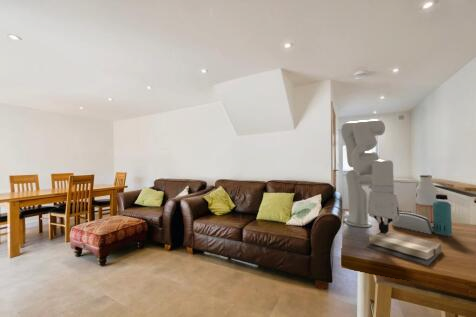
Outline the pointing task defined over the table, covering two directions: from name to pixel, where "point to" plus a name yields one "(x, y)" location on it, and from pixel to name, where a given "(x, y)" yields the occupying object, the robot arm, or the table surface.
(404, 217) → the white toaster
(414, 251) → the birch plank
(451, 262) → the table surface
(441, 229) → the beverage bottle
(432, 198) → the fruit juice
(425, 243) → the floor panel
